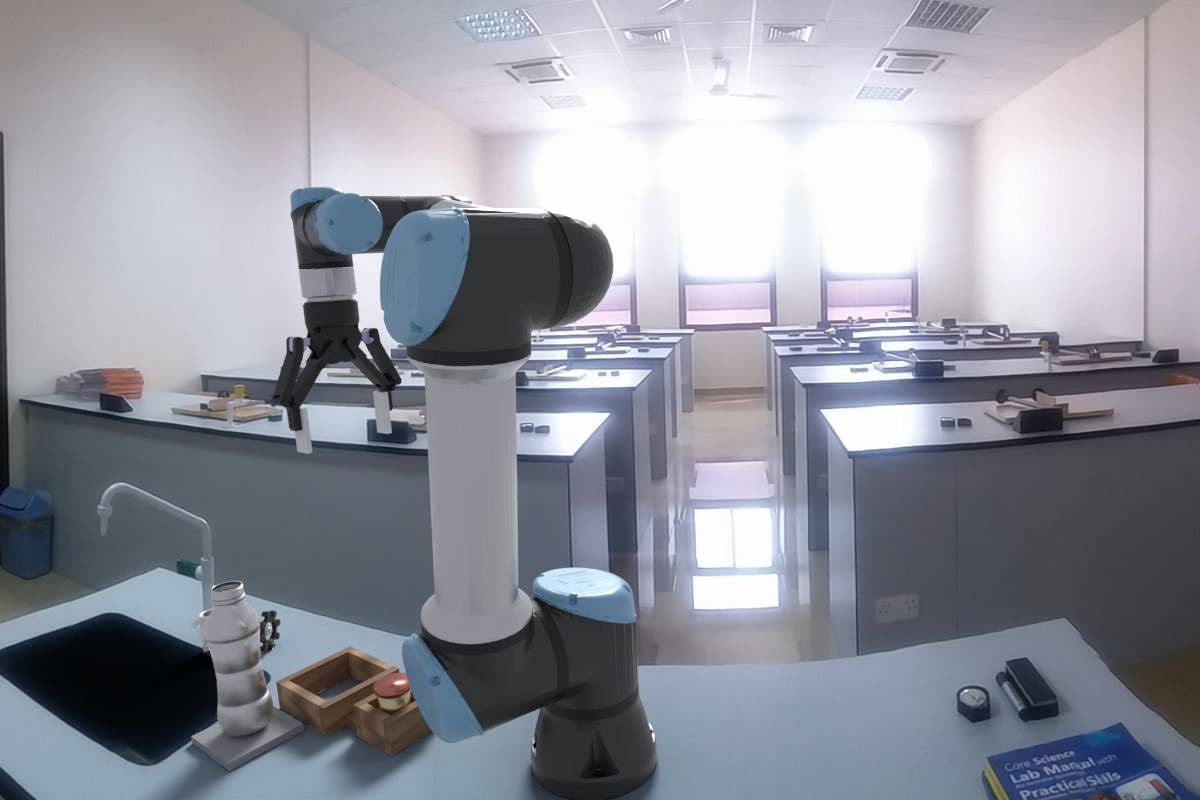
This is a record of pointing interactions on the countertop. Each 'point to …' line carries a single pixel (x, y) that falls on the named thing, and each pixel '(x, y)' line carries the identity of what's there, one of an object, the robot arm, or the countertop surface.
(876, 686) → the countertop surface
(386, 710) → the copper-capped cylinder
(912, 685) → the countertop surface
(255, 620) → the plastic bottle
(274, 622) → the valve
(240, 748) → the pad
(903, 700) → the countertop surface
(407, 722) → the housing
